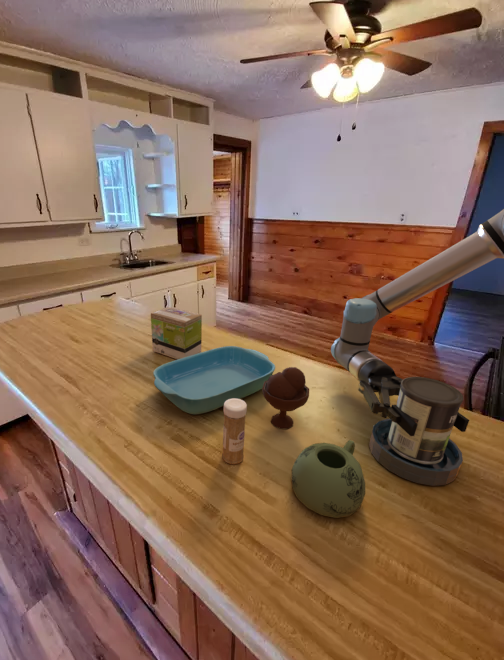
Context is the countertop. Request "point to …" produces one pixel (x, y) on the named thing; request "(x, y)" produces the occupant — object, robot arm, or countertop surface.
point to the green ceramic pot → (329, 479)
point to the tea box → (176, 332)
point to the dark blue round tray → (413, 470)
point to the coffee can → (425, 419)
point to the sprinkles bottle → (234, 430)
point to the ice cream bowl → (286, 394)
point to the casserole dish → (213, 378)
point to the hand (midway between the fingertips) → (440, 428)
